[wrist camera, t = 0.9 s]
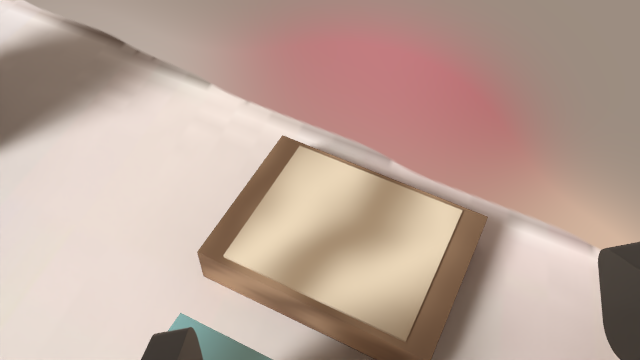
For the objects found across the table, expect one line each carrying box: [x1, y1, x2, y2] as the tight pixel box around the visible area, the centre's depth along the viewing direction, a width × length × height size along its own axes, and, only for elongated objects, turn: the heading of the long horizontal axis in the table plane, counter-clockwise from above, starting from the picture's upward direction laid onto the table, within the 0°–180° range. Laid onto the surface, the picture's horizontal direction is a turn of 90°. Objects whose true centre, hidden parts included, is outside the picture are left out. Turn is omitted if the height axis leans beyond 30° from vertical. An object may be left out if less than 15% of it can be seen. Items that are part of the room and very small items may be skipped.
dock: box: [197, 135, 488, 360], centre depth 36 cm, size 14×10×3 cm
